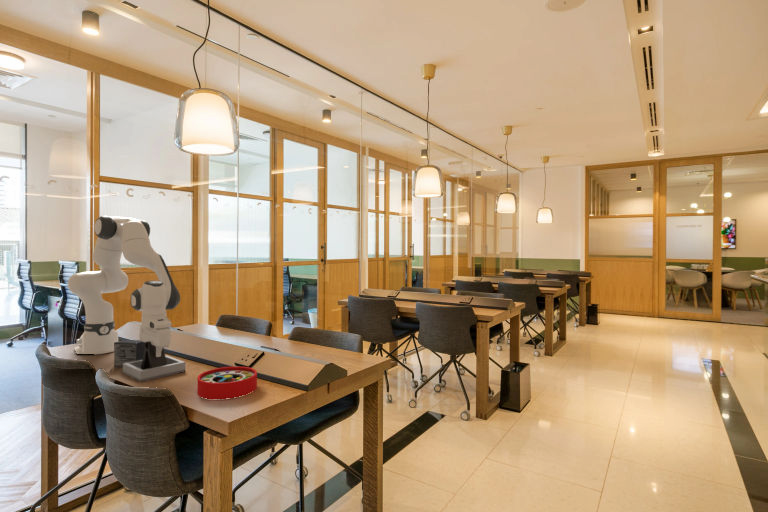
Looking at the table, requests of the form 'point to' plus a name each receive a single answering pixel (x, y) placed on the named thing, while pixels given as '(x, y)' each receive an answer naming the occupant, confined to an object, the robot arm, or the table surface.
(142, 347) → the small box
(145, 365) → the door stopper
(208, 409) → the table surface
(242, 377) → the toy clock
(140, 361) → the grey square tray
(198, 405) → the table surface
